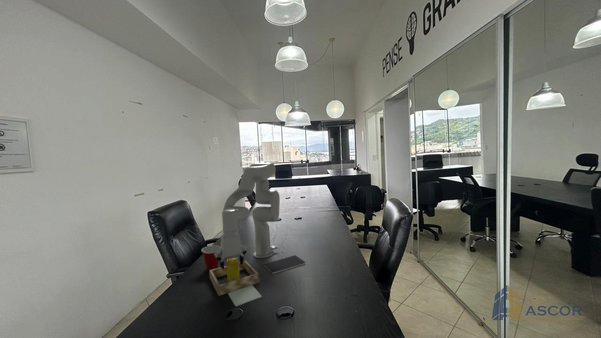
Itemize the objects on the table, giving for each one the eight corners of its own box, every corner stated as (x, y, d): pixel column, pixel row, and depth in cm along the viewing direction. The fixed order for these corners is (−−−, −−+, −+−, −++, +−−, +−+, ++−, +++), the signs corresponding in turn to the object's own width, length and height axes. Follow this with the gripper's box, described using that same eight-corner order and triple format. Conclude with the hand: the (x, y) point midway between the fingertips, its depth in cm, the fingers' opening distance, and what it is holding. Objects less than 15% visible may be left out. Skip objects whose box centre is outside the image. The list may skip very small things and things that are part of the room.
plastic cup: (216, 273, 136) (214, 252, 135) (198, 272, 138) (197, 251, 137) (225, 264, 146) (224, 245, 146) (209, 263, 149) (208, 244, 148)
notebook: (295, 257, 153) (263, 266, 143) (295, 255, 153) (263, 264, 142) (305, 264, 142) (272, 275, 132) (305, 262, 142) (272, 272, 132)
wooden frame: (246, 268, 140) (245, 260, 140) (259, 282, 123) (258, 273, 123) (209, 278, 130) (209, 270, 130) (218, 295, 113) (218, 286, 113)
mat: (252, 285, 120) (252, 285, 120) (261, 297, 110) (261, 296, 110) (228, 293, 114) (228, 293, 114) (235, 306, 104) (235, 305, 104)
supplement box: (228, 278, 129) (227, 258, 128) (239, 276, 130) (238, 257, 130) (227, 284, 123) (226, 263, 123) (239, 282, 124) (238, 261, 124)
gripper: (244, 228, 133) (246, 259, 133) (211, 234, 124) (213, 268, 124) (249, 231, 127) (250, 264, 127) (215, 238, 118) (216, 273, 118)
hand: (232, 266), depth 126 cm, fingers open, 9 cm apart
